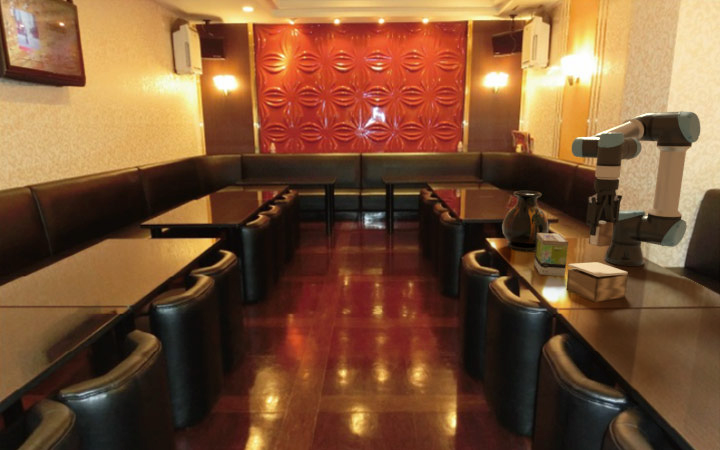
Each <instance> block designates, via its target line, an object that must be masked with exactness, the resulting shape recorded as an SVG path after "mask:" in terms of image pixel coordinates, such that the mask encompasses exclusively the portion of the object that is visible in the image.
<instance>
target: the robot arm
mask: <svg viewBox="0 0 720 450" xmlns="http://www.w3.org/2000/svg"><path fill="white" fill-rule="evenodd" d="M700 121H701V120H700V119H699V116H698V115H697V114H696V112H693V111H683V110H682V111H663V112H658V111H657V112H656V111H655V112H646V113H643V114H640V115H637V116H633V117H632V118H628V119H626V120H624V121H623V122H622V123H621V124H619V125H617V126H615V127H612V128H609V129H607V130H604V131H601V132H599V133H597V134H594V135H591V136H587V137H586V136H581V137H580V136H578V137H576V138H575V139H574V140H573V141H572V144H571V154H572V155H573V156H574V157H575V158H581V159H583V158H584V159H585V158H586V159H589V158H591V159H596V163H595V164H596V165H595V175H594V176H595V177H596V178H594V182H593V189H594V190H595V192H594V193H593V195H592V196H587V198H586V199H587V211H586V220H585V225H588V226H591V228H590V227H589V236H590V235H591V237H590V244H589V245H592V244H593V246H596V245H598V237H599V228H600V227H598V223H599V221H601V217H602V212H603V210H604V217H605V221H606V222H610V223H614V224H613V233H612V241H611V245H610V246H608V248H607V250H606V252H605V253H604V261H606V262H607V263H610V264H614V265H617V266H618V265H619V266H627V267H639V266H643V265H644V259H645V258H644V255H643V250H642V243H647V244H652V245H657V246H661V247H668V248H669V247H670V248H674V247H677V246H678V245H679V244H680V243H681V242H682V240H683V238H684V236H685V234H686V230H687V221H686V220H684V219H682V213H681V212H680V211H679V205H680V200H681V199H680V198H681V192H682V190H681V189H682V184H683V183H682V182H683V176H684V169H685V162H686V154H687V151H688V150H689V149H690V148H692V145H693V144H694V143H697V141H698V140H699V137H700V136H701V122H700ZM641 142H656V147H657V148H658V149H659V150H660V151H659V152H660V153H659V159H658V167H657V174H656V182H655V183H656V184H655V190H654V199H653V207H652V209H651V210H649V211H648V213H647V214H646V211H645V210H642V209H641V210H639V209H628V210H627V209H626V210H620V207H621V202H622V199H623V196H622V195H620V194H617V191H618V190H619V186H620V179H619V178H620V177H621V171H622V170H621V168H622V160H627V161H628V160H631V159H634V158H636V157H638V156H639V155H640V154H641V152H642V144H641ZM594 222H595V223H594Z"/></svg>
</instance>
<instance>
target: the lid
mask: <svg viewBox="0 0 720 450" xmlns="http://www.w3.org/2000/svg"><path fill="white" fill-rule="evenodd" d="M567 267H570V268H571V269H574V268H575V269H578V270H580V271H583V272H586V273H589V274H591V275H594V276H597V277H600V276H613V275H628V271H626V270H624V269H623V270H622V269H620V268H616V267H613V266H610V265H608V264H605V263H601V262H598V261H596V262H595V261H593V262H580V263H579V262H577V263H568V266H567Z"/></svg>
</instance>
